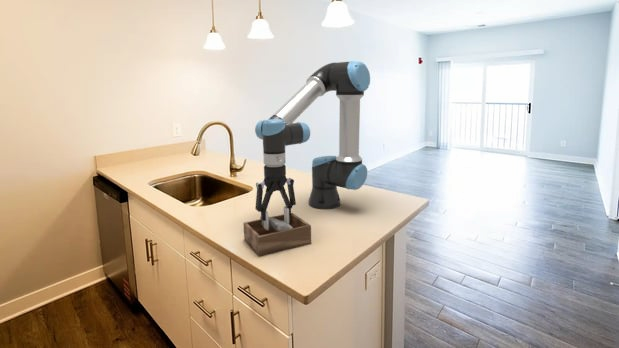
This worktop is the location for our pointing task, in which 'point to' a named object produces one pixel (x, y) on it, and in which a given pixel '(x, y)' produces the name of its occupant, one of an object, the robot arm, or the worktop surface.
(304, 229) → the walnut well
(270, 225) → the mineral specimen
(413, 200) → the worktop surface
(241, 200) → the worktop surface
